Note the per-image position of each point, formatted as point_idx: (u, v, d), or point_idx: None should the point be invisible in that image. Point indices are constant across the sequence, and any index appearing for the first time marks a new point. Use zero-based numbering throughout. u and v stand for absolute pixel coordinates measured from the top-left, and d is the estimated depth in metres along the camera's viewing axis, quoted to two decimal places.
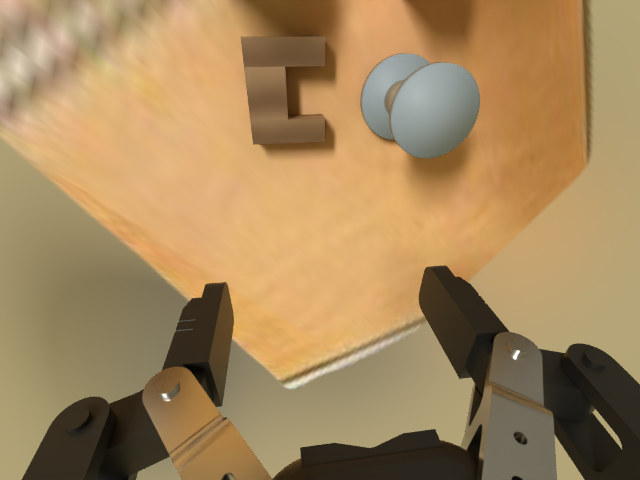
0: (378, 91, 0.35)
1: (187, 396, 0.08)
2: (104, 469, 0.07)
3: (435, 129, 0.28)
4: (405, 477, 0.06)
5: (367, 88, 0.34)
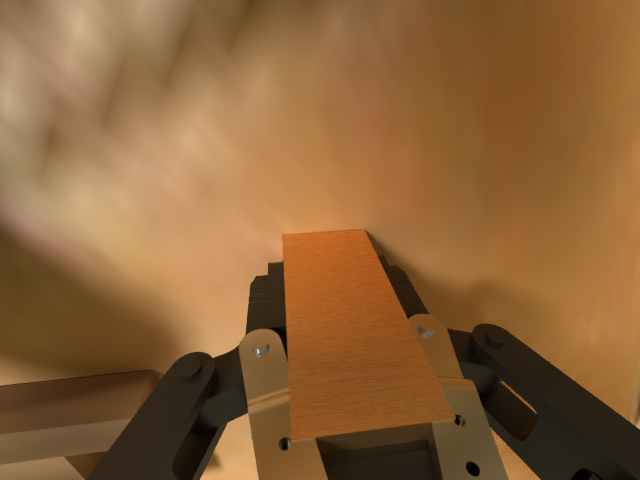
0: None
1: (279, 352, 0.09)
2: (199, 418, 0.08)
3: None
4: (405, 477, 0.06)
5: None
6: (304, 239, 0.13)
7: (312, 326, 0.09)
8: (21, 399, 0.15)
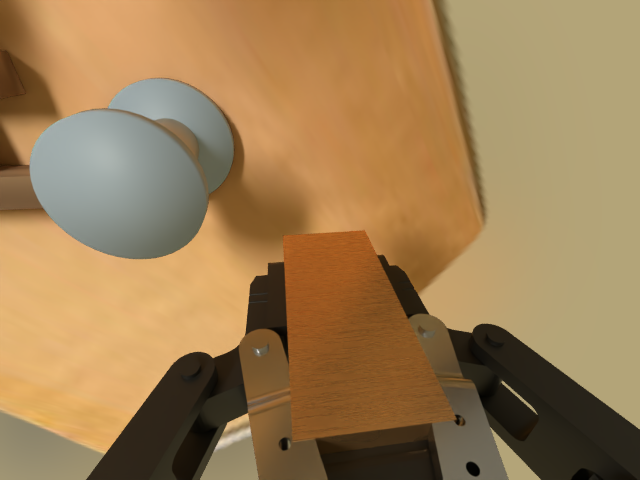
0: None
1: (279, 352, 0.09)
2: (199, 418, 0.08)
3: (135, 218, 0.17)
4: (405, 477, 0.06)
5: None
6: (304, 240, 0.13)
7: (312, 327, 0.09)
8: None
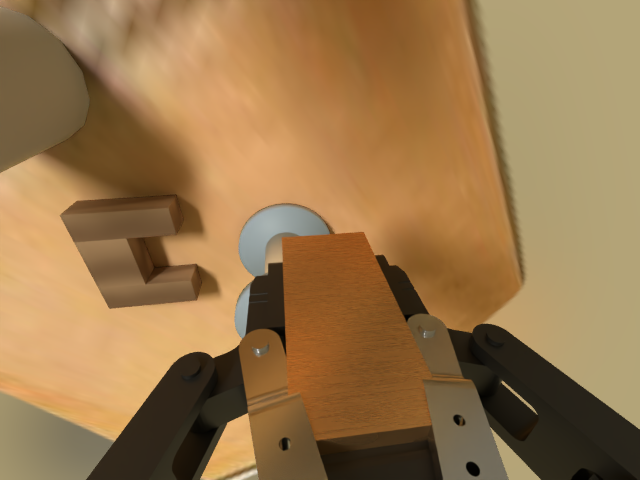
0: (256, 244, 0.29)
1: (279, 352, 0.09)
2: (199, 418, 0.08)
3: None
4: (405, 477, 0.06)
5: (242, 242, 0.29)
6: (303, 242, 0.13)
7: (311, 329, 0.09)
8: (101, 203, 0.25)
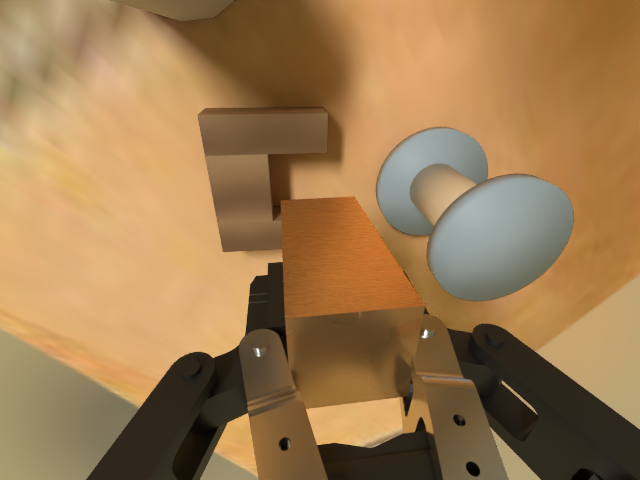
0: (402, 178, 0.24)
1: (279, 352, 0.09)
2: (199, 418, 0.08)
3: (498, 266, 0.18)
4: (405, 477, 0.06)
5: (387, 174, 0.24)
6: (300, 203, 0.14)
7: (305, 254, 0.10)
8: (238, 109, 0.20)
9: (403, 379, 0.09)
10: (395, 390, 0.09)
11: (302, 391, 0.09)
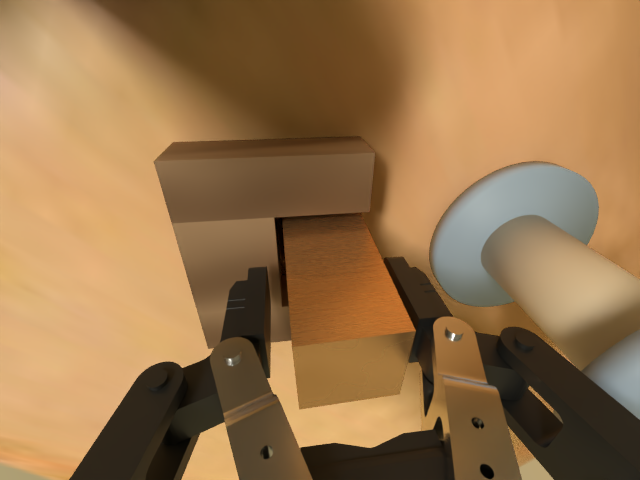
0: (473, 236, 0.16)
1: (251, 361, 0.08)
2: (171, 430, 0.08)
3: None
4: (405, 477, 0.06)
5: (451, 232, 0.16)
6: None
7: (307, 272, 0.11)
8: (226, 146, 0.13)
9: (395, 383, 0.10)
10: (388, 390, 0.11)
11: (307, 396, 0.10)
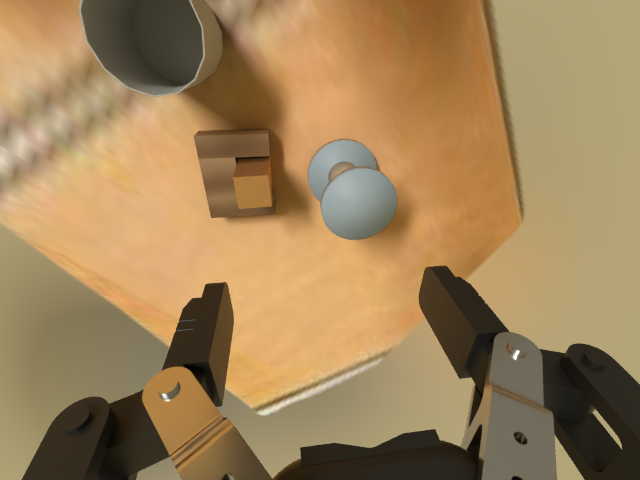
0: (322, 170, 0.39)
1: (187, 396, 0.08)
2: (104, 469, 0.07)
3: (360, 218, 0.33)
4: (405, 477, 0.06)
5: (312, 168, 0.39)
6: None
7: (242, 167, 0.34)
8: (217, 131, 0.35)
9: (268, 199, 0.33)
10: (267, 203, 0.33)
11: (240, 202, 0.33)
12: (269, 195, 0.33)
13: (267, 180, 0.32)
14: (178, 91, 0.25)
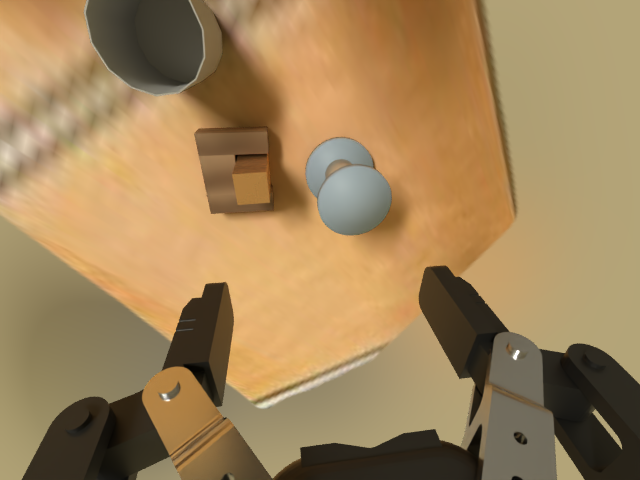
0: (319, 168, 0.40)
1: (187, 396, 0.08)
2: (104, 469, 0.07)
3: (356, 214, 0.34)
4: (405, 477, 0.06)
5: (309, 166, 0.40)
6: None
7: (241, 164, 0.35)
8: (217, 129, 0.36)
9: (266, 196, 0.34)
10: (265, 200, 0.34)
11: (239, 198, 0.34)
12: (267, 191, 0.34)
13: (265, 177, 0.33)
14: (179, 90, 0.26)
